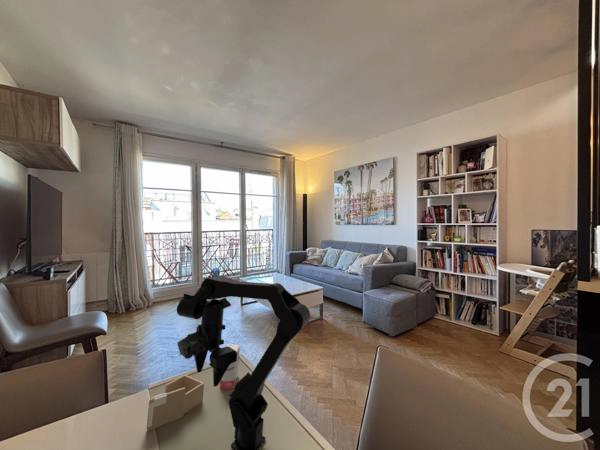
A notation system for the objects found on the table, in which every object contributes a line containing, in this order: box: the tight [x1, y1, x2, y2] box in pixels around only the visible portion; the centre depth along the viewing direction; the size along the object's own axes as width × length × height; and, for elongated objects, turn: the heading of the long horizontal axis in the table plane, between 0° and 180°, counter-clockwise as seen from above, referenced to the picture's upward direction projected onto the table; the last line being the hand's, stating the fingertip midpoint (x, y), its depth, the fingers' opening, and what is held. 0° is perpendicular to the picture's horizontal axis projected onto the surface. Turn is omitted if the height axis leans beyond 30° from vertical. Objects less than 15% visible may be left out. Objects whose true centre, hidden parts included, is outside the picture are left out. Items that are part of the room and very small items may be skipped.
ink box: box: [219, 343, 241, 389], centre depth 91 cm, size 9×5×12 cm, turn 3°
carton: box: [164, 374, 205, 416], centre depth 78 cm, size 9×7×6 cm
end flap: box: [146, 387, 185, 432], centre depth 69 cm, size 9×2×8 cm, turn 132°
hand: (207, 378), depth 69 cm, fingers open, 9 cm apart
